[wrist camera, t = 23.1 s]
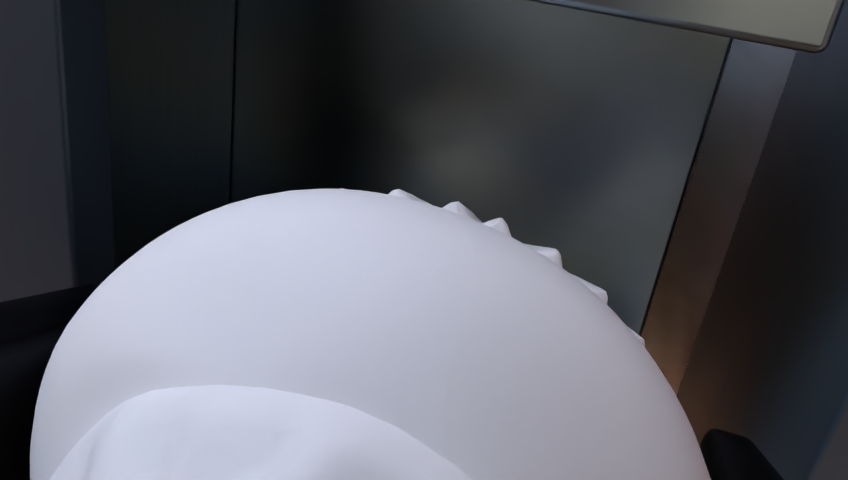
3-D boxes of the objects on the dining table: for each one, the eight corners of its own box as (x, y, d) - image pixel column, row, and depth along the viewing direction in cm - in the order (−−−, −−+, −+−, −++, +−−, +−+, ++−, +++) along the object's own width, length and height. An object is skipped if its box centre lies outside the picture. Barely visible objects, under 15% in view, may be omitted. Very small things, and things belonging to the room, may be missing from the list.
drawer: (1236, -30, 12) (2176, 52, 5) (940, 491, 17) (1162, 955, 10) (235, -177, 16) (-164, -268, 8) (221, 285, 21) (-40, 500, 13)
